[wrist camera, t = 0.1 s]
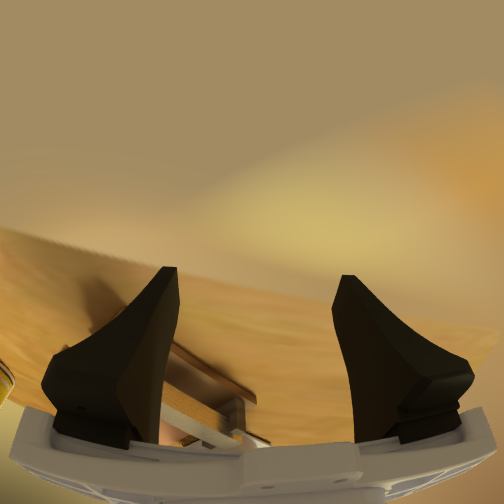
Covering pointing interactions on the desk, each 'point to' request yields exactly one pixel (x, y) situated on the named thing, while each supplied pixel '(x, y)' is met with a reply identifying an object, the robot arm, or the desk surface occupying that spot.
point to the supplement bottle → (5, 383)
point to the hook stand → (207, 388)
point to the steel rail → (196, 418)
